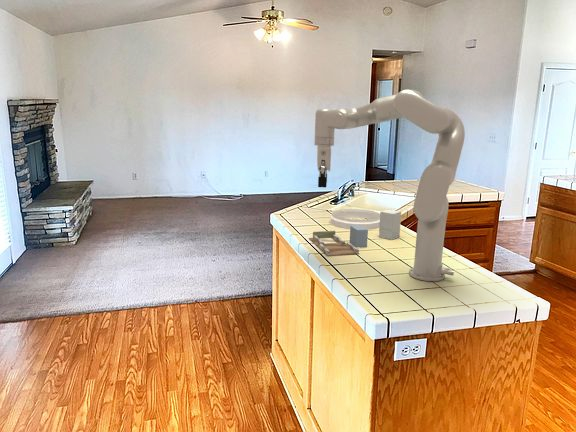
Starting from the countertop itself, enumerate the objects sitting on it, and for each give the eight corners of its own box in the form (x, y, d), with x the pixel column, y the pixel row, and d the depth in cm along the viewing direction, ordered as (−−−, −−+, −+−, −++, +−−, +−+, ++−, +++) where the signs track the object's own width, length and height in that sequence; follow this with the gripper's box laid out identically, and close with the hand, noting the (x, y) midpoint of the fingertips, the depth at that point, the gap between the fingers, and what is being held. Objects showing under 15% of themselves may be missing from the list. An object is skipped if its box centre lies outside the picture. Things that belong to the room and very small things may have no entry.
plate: (392, 226, 238) (393, 216, 237) (354, 233, 223) (354, 222, 222) (357, 215, 260) (357, 206, 258) (320, 221, 245) (320, 211, 243)
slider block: (366, 247, 200) (368, 229, 198) (356, 247, 199) (357, 230, 197) (359, 242, 208) (360, 225, 206) (349, 242, 206) (350, 225, 205)
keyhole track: (359, 254, 190) (359, 246, 189) (327, 256, 186) (327, 248, 186) (337, 237, 214) (337, 230, 213) (308, 238, 211) (309, 231, 210)
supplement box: (399, 237, 217) (402, 211, 214) (391, 240, 211) (393, 213, 208) (386, 234, 221) (388, 208, 219) (378, 237, 216) (379, 211, 213)
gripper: (333, 143, 168) (331, 189, 172) (334, 140, 184) (332, 182, 188) (313, 142, 168) (312, 188, 172) (315, 139, 185) (314, 181, 189)
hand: (322, 185), depth 180 cm, fingers open, 9 cm apart
